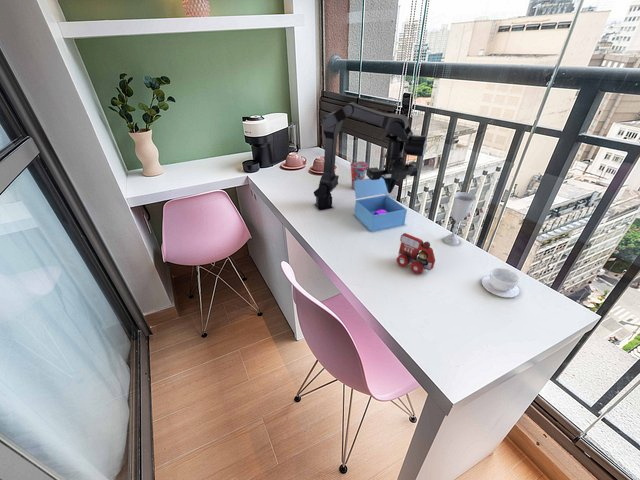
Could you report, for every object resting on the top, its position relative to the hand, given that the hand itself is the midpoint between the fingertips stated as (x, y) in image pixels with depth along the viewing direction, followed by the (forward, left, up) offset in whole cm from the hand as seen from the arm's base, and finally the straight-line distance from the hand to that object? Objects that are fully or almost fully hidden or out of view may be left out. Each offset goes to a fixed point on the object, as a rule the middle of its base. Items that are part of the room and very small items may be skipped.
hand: (389, 192), depth 121 cm
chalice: (+14, -23, -12) cm, 30 cm away
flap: (-3, +10, -1) cm, 10 cm away
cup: (+4, +35, -12) cm, 38 cm away
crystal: (-3, 0, -12) cm, 12 cm away
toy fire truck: (-8, -31, -12) cm, 34 cm away
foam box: (-3, +1, -12) cm, 13 cm away
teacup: (+10, -49, -12) cm, 51 cm away
